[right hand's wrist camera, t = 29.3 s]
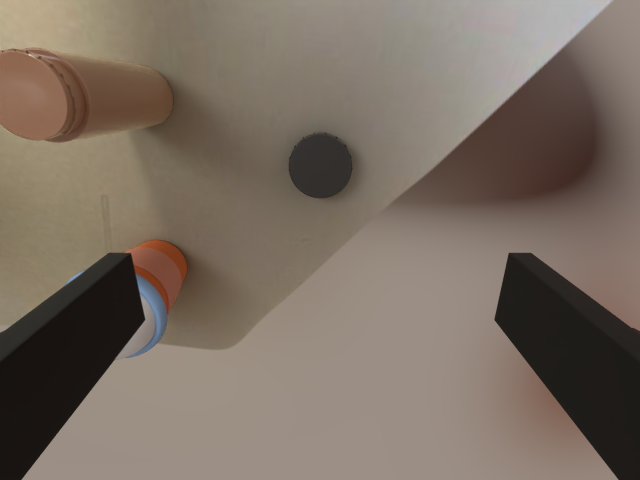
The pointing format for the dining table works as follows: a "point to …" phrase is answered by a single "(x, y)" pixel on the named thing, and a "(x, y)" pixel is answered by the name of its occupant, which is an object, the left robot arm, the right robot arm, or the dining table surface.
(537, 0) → the dining table surface
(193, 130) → the dining table surface
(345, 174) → the lid
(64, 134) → the jar
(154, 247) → the cup with straw
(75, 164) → the dining table surface
